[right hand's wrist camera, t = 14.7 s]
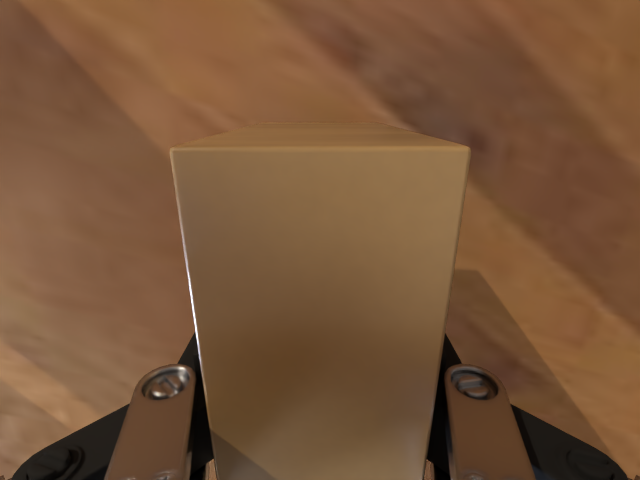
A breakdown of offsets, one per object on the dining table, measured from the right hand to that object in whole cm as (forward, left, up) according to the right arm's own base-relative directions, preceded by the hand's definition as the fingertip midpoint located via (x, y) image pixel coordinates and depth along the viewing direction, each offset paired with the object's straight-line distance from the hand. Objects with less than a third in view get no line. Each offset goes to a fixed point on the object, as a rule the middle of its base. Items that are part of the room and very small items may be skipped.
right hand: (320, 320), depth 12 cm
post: (-15, -16, -3) cm, 22 cm away
